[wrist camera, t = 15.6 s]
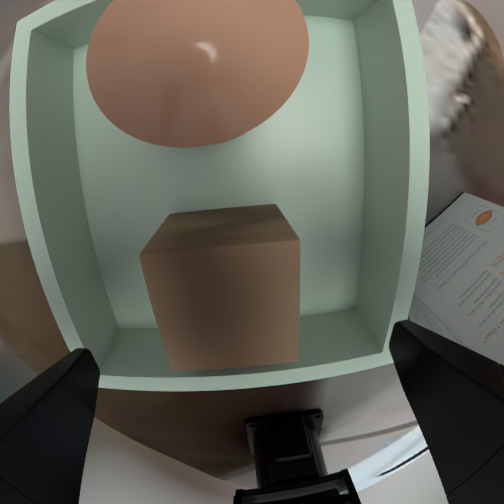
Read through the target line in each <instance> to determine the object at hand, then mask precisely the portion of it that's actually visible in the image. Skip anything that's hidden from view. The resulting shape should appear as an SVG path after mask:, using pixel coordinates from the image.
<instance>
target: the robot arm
mask: <svg viewBox="0 0 504 504" xmlns="http://www.w3.org/2000/svg"><path fill="white" fill-rule="evenodd" d="M389 350H390V353H391V356H392V359H393V362H394V364H395V367H396V370H397V373H398V376H399V379H400V382H401V385H402V387H403V390H404V392H405V395H406V397H407V399H408V401H409V404H410V406H411V408H412V410H413V413H414V415H415V417H416V419H417V422H418V424H419V426H420V429H421V431H422V433H423V436H424V438H425V441H426V443H427V445H428V448H429V450H430V453H431V455H432V458H433V460H434V463H435V466H436V468H437V471H438V474H439V476H440V479H441V482H442V485H443V487H444V491H445V494H446V495H447V500H448V503H449V504H504V365H502V364H499V363H498V362H496V361H494V360H492V359H490V358H488V357H485V356H483V355H481V354H479V353H477V352H475V351H473V350H471V349H469V348H467V347H465V346H462V345H460V344H458V343H456V342H454V341H452V340H450V339H448V338H446V337H443V336H441V335H439V334H437V333H435V332H433V331H431V330H429V329H427V328H424V327H422V326H420V325H418V324H416V323H414V322H412V321H410V320H401V321H397V322H395V324H394V326H393V329H392V333H391V337H390V341H389ZM99 379H100V369H99V367H98V365H97V363H96V361H95V359H94V357H93V355H92V352H91V351H90V350H89V349H87V348H76V349H75V350H73V351H72V352H70V353H69V354H68V355H66V356H65V357H63V358H62V359H61V360H59V361H58V362H56V363H55V364H54V365H52V366H51V367H50V368H48V369H47V370H45V371H44V372H43V373H41V374H40V375H38V376H37V377H36V378H34V379H33V380H32V381H30V382H29V383H28V384H26V385H25V386H24V387H22V388H21V389H20V390H18V391H17V392H15V393H14V394H13V395H11V396H10V397H9V398H7V399H6V400H5V401H3V402H2V403H1V404H0V504H79V496H80V489H81V482H82V475H83V469H84V463H85V458H86V452H87V447H88V442H89V437H90V433H91V428H92V423H93V419H94V413H95V406H96V399H97V392H98V386H99ZM323 416H324V415H323V412H322V410H315V411H309V412H303V413H296V414H289V415H282V416H274V417H265V418H255V419H248V420H247V421H246V430H247V436H248V442H249V448H250V453H251V455H254V458H255V468H256V478H257V489H249V490H243V489H239V490H236V494H235V496H234V501H233V504H361V502H360V499H359V497H358V494H357V492H356V489H355V487H354V484H353V482H352V479H351V477H350V474H349V472H348V469H344V470H340V472H337V473H333V474H329V475H328V472H327V469H326V465H325V461H324V457H323V454H322V450H321V446H320V443H319V434H320V430H321V425H322V421H323ZM339 492H340V493H339Z"/></svg>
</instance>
